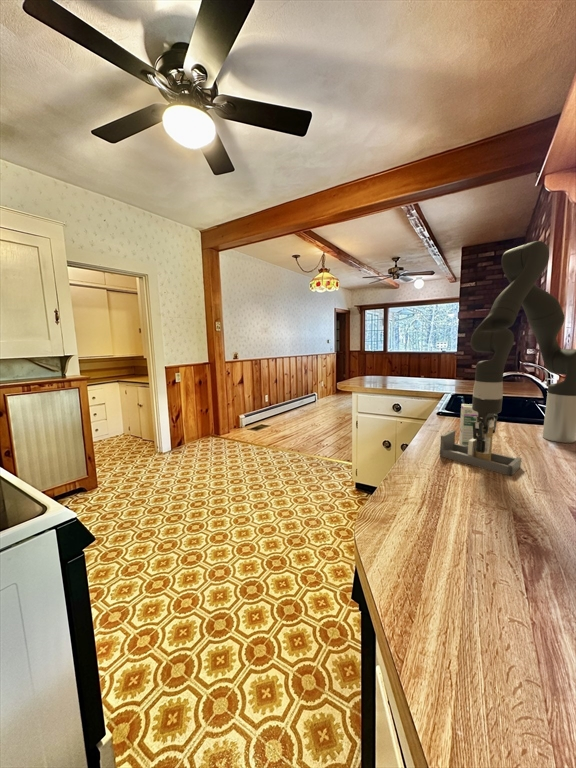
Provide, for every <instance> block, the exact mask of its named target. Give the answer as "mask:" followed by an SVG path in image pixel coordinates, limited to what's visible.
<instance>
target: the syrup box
mask: <svg viewBox="0 0 576 768" xmlns="http://www.w3.org/2000/svg"><path fill="white" fill-rule="evenodd" d="M460 407H461V408H460V420H459V423H460V424H459V438H458V441H459V445H463V446H468V442H469V440H471V439H472V438H473V424H472V423H473V421H475V422H476V418H477V417H478V412H477V411H474V410H473V409H472V403H469V404H468V403H461V406H460Z"/></svg>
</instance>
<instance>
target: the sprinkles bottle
mask: <svg viewBox="0 0 576 768" xmlns="http://www.w3.org/2000/svg"><path fill="white" fill-rule="evenodd" d="M487 423H488V422H487ZM493 427H494V421H493V420H492V423H491V425H490V430H489V433H488V434H487V436H486V442H485V452H484V453H480V452H477V451H476V444H475V457H478V458H482V459H486V460H489V461H491V452H492V453H493V436H494V434H493ZM485 430H486V429H483V431H485ZM479 436H480V434H479ZM476 442H477V440H476Z"/></svg>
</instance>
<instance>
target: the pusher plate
mask: <svg viewBox="0 0 576 768" xmlns="http://www.w3.org/2000/svg"><path fill="white" fill-rule="evenodd" d="M475 444H476V439H473V438H472V439H471V440H469V442H468V455H470V456H475Z"/></svg>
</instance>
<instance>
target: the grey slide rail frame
mask: <svg viewBox="0 0 576 768" xmlns="http://www.w3.org/2000/svg"><path fill="white" fill-rule="evenodd" d="M455 441H456V430H454V429H452V430H450V431H448V432H445V433H443V434H441V435H440V446H439V457H442V458H446V459H448V460H452V461H456V462H459V463H463V464H467V465H470V466H474V467H478V468H481V469H485V470H488V471H490V472H491V471H492V472H495V473H499V474H502V475H506V476H508V477H509V476H510V477H513V475H515V473H516V472H517V471H518V470H519V469H521V467H522V457H519V456H516V457H513V456H508V455H504V454H500V453H495V452H493V451H492V452H491V461H489V460H486V459H482V458H478V457H475V456H470V455H468V446H463V445H461V444H460V443H456V442H455Z"/></svg>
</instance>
